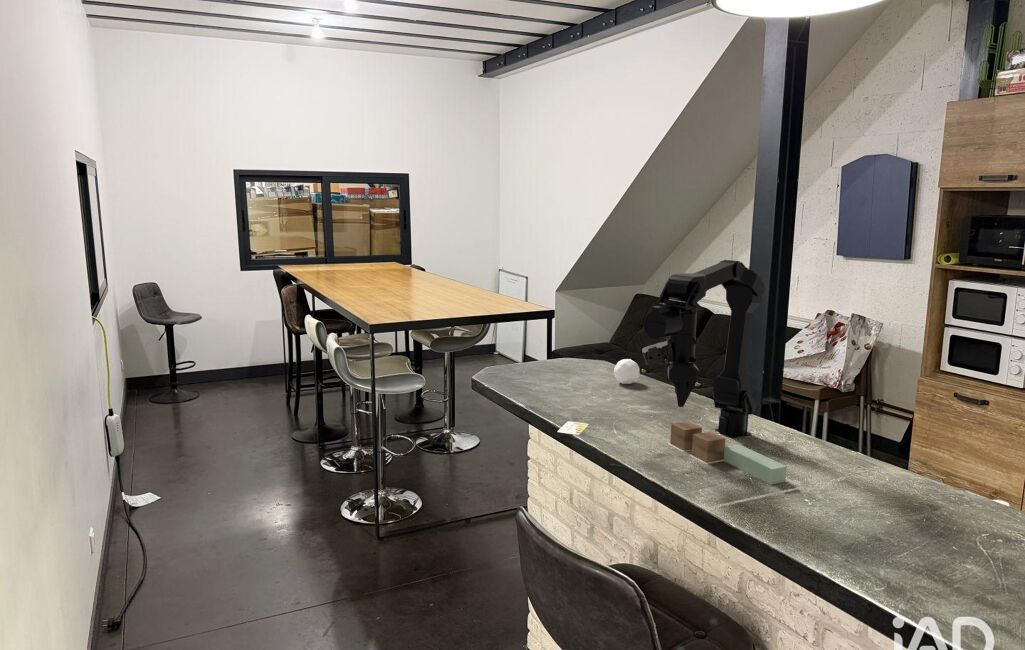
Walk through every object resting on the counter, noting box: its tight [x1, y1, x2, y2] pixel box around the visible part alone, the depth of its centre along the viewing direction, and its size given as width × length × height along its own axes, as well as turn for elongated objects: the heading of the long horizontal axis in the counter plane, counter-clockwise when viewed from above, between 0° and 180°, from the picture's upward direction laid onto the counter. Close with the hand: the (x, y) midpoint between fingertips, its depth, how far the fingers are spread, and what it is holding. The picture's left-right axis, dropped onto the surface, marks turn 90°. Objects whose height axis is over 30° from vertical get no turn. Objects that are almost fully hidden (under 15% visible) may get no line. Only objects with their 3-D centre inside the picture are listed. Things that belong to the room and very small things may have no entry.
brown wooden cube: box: [669, 420, 703, 451], centre depth 163 cm, size 5×5×5 cm
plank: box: [723, 443, 787, 485], centre depth 149 cm, size 4×14×4 cm, turn 25°
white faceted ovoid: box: [613, 358, 640, 385], centre depth 220 cm, size 8×8×12 cm
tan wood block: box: [691, 431, 726, 463], centre depth 156 cm, size 5×5×5 cm
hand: (679, 400), depth 155 cm, fingers open, 9 cm apart
